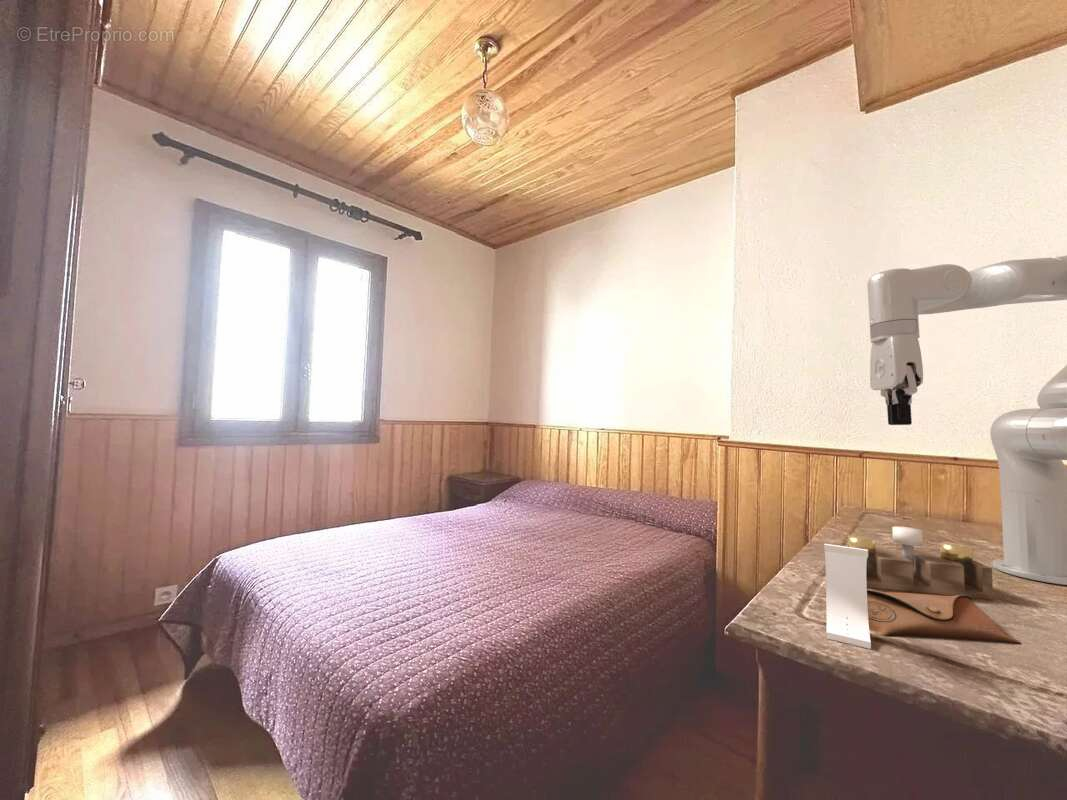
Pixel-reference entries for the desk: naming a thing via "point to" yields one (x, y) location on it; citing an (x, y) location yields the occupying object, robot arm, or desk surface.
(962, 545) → the brass knob
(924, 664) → the desk surface
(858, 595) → the headphone stand
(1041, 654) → the desk surface
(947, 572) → the tan mount
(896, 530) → the white knob
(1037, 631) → the desk surface
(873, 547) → the brass knob
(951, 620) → the sunglasses case
